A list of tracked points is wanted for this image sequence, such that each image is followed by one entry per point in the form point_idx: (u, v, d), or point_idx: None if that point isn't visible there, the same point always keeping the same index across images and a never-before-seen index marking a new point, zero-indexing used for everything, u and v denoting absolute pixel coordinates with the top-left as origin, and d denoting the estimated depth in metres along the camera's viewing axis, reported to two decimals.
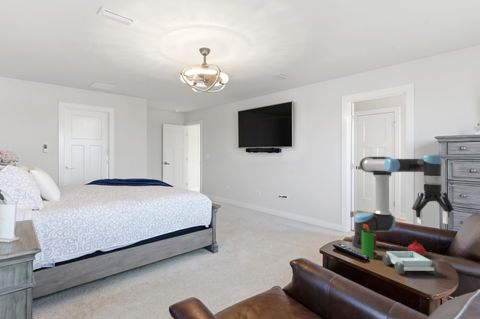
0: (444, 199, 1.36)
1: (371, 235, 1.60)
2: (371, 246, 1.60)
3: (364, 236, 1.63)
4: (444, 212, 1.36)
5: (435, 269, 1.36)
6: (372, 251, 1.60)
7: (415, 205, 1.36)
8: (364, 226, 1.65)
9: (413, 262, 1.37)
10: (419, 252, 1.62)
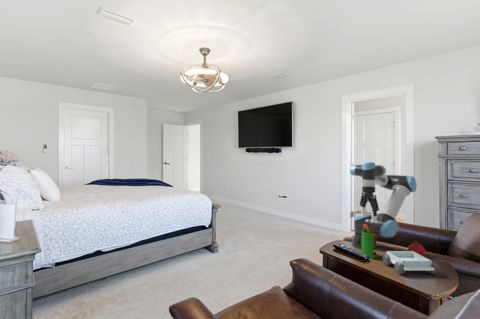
0: None
1: (371, 235, 1.60)
2: (371, 246, 1.60)
3: (364, 236, 1.63)
4: None
5: (435, 269, 1.36)
6: (372, 251, 1.60)
7: None
8: (364, 226, 1.65)
9: (413, 262, 1.37)
10: (419, 252, 1.62)
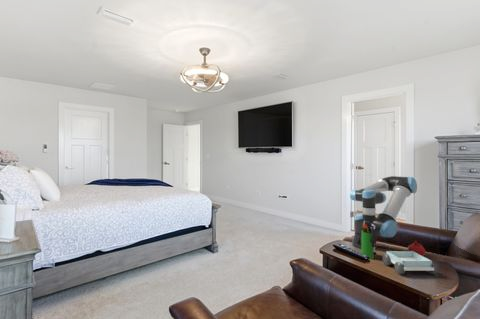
0: None
1: (371, 235, 1.60)
2: (371, 246, 1.60)
3: (364, 236, 1.63)
4: None
5: (435, 269, 1.36)
6: (372, 251, 1.60)
7: None
8: (364, 226, 1.65)
9: (413, 262, 1.37)
10: (419, 252, 1.62)
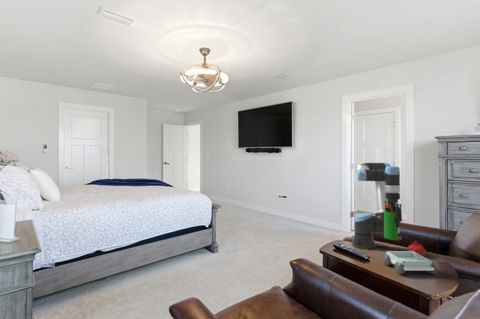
0: None
1: (395, 214, 1.47)
2: (395, 226, 1.47)
3: (387, 216, 1.50)
4: None
5: (435, 269, 1.36)
6: (396, 232, 1.46)
7: None
8: (387, 205, 1.52)
9: (413, 262, 1.37)
10: (419, 252, 1.62)
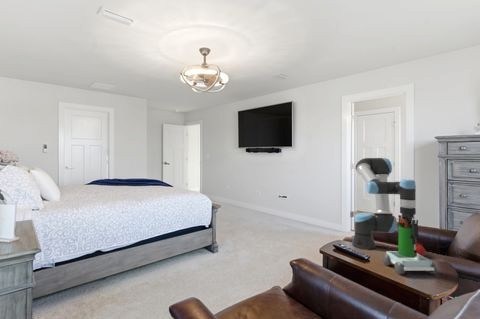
0: None
1: (411, 231, 1.40)
2: (411, 243, 1.40)
3: (402, 232, 1.43)
4: None
5: (435, 269, 1.36)
6: (412, 249, 1.40)
7: None
8: (402, 220, 1.45)
9: (413, 262, 1.37)
10: (419, 252, 1.62)
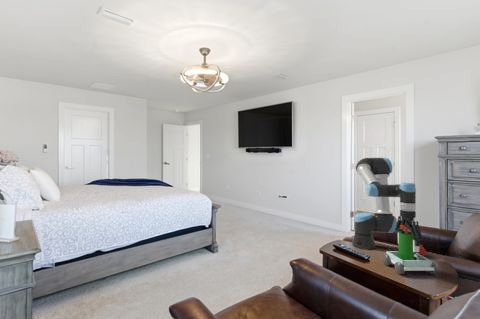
0: None
1: (411, 237, 1.40)
2: (411, 249, 1.40)
3: (402, 238, 1.43)
4: None
5: (435, 269, 1.36)
6: (412, 255, 1.40)
7: None
8: (402, 227, 1.46)
9: (413, 262, 1.37)
10: (419, 252, 1.62)
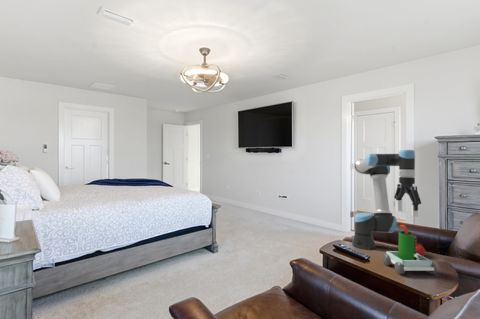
0: None
1: (411, 237, 1.40)
2: (411, 250, 1.40)
3: (402, 238, 1.43)
4: None
5: (435, 269, 1.36)
6: (412, 255, 1.40)
7: None
8: (402, 227, 1.46)
9: (413, 262, 1.37)
10: (419, 252, 1.62)
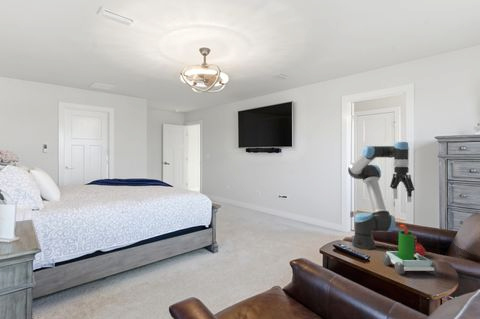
0: None
1: (411, 237, 1.40)
2: (411, 250, 1.40)
3: (402, 238, 1.43)
4: None
5: (435, 269, 1.36)
6: (412, 255, 1.40)
7: None
8: (402, 227, 1.46)
9: (413, 262, 1.37)
10: (419, 252, 1.62)
